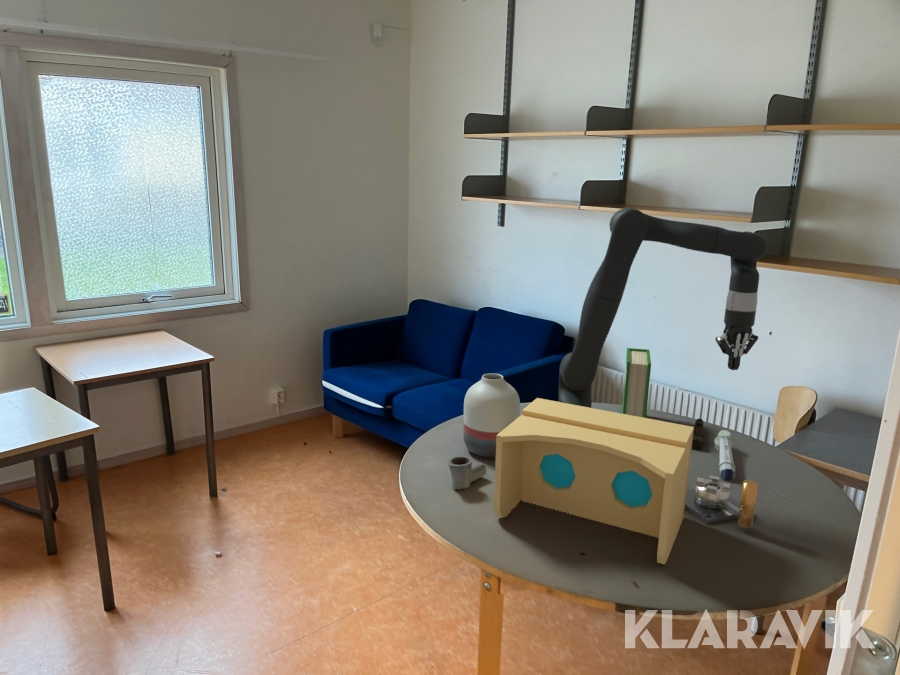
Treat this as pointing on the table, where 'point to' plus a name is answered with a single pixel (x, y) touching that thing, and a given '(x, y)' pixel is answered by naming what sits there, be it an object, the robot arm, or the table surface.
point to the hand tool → (698, 435)
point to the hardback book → (636, 382)
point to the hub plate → (709, 509)
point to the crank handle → (718, 495)
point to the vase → (488, 413)
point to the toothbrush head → (725, 455)
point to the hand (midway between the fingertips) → (733, 369)
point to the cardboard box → (596, 467)
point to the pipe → (464, 471)
